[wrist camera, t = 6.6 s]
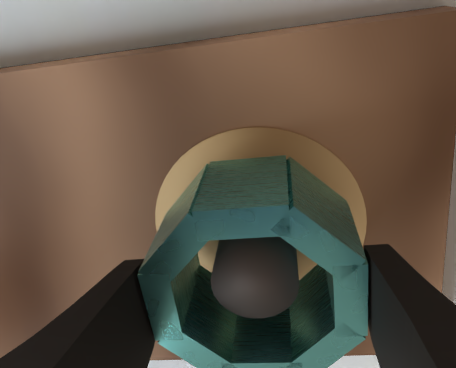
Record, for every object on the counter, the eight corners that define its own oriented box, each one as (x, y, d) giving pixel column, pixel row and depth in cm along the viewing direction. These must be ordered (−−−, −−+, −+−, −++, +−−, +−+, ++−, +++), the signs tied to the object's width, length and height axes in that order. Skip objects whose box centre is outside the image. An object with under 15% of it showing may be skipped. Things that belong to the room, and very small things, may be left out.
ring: (186, 311, 15) (167, 384, 12) (154, 166, 13) (121, 216, 10) (350, 306, 14) (367, 383, 11) (347, 149, 12) (368, 199, 9)
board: (19, 337, 20) (-47, 428, 16) (-100, 82, 15) (-241, 119, 11) (423, 324, 17) (469, 430, 13) (445, 5, 12) (531, 17, 8)
